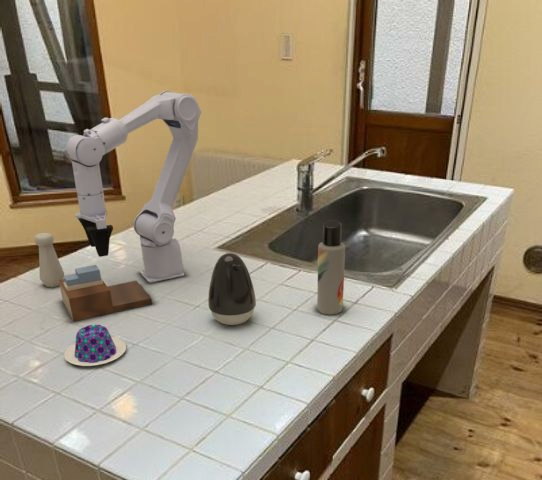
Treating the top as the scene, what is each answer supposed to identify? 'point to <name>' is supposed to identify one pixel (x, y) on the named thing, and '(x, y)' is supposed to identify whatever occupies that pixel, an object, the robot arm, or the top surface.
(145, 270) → the robot arm
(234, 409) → the top surface
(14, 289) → the top surface
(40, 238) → the salt shaker
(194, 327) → the top surface
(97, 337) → the patterned hat
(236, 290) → the dark egg shaped container
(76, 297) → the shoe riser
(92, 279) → the blue stepped block
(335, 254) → the lotion bottle
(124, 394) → the top surface
